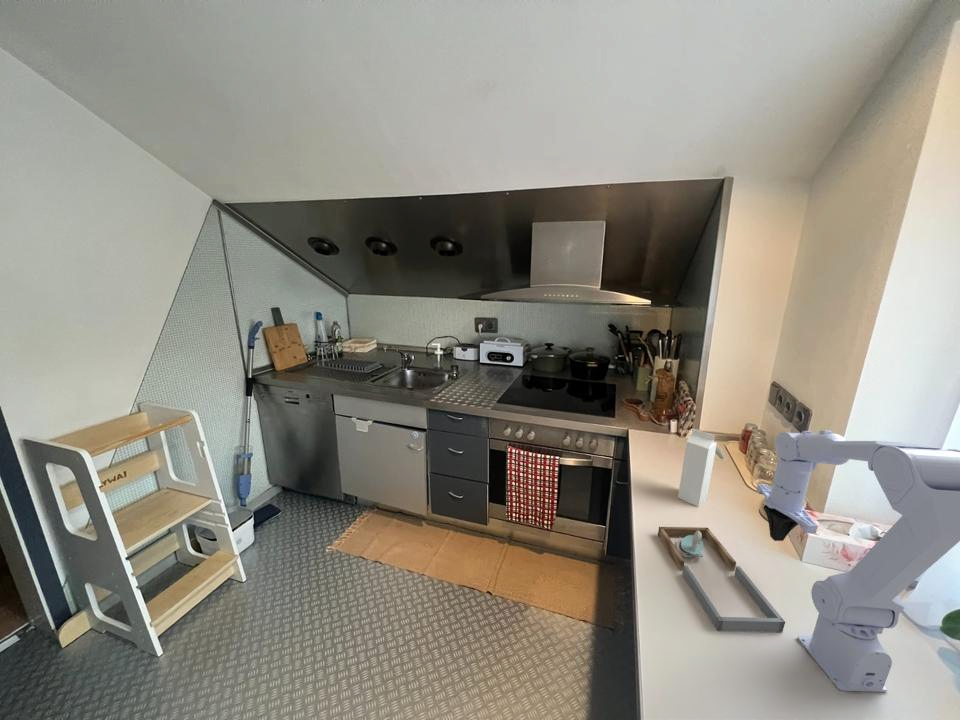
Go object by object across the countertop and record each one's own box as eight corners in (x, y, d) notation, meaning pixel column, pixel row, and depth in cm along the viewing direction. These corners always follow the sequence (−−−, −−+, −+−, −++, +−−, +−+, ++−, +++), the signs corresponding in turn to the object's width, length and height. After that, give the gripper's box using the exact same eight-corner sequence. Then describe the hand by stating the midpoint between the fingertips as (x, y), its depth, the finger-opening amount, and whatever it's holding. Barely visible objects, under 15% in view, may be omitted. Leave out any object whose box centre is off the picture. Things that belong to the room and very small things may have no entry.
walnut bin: (734, 571, 89) (736, 562, 89) (679, 570, 89) (681, 561, 89) (706, 535, 101) (707, 527, 100) (657, 534, 101) (659, 526, 100)
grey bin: (782, 632, 75) (785, 621, 74) (717, 630, 75) (719, 620, 74) (737, 575, 88) (739, 566, 87) (682, 574, 88) (683, 565, 88)
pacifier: (674, 556, 94) (702, 565, 91) (677, 534, 92) (705, 542, 89) (676, 538, 100) (702, 545, 97) (678, 517, 99) (705, 524, 96)
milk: (698, 507, 112) (710, 439, 106) (677, 497, 117) (687, 431, 111) (706, 499, 116) (719, 432, 110) (686, 490, 120) (696, 425, 114)
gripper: (748, 467, 90) (737, 517, 93) (798, 506, 76) (783, 563, 79) (778, 467, 90) (766, 517, 93) (833, 506, 76) (817, 563, 79)
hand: (776, 538), depth 86 cm, fingers closed
